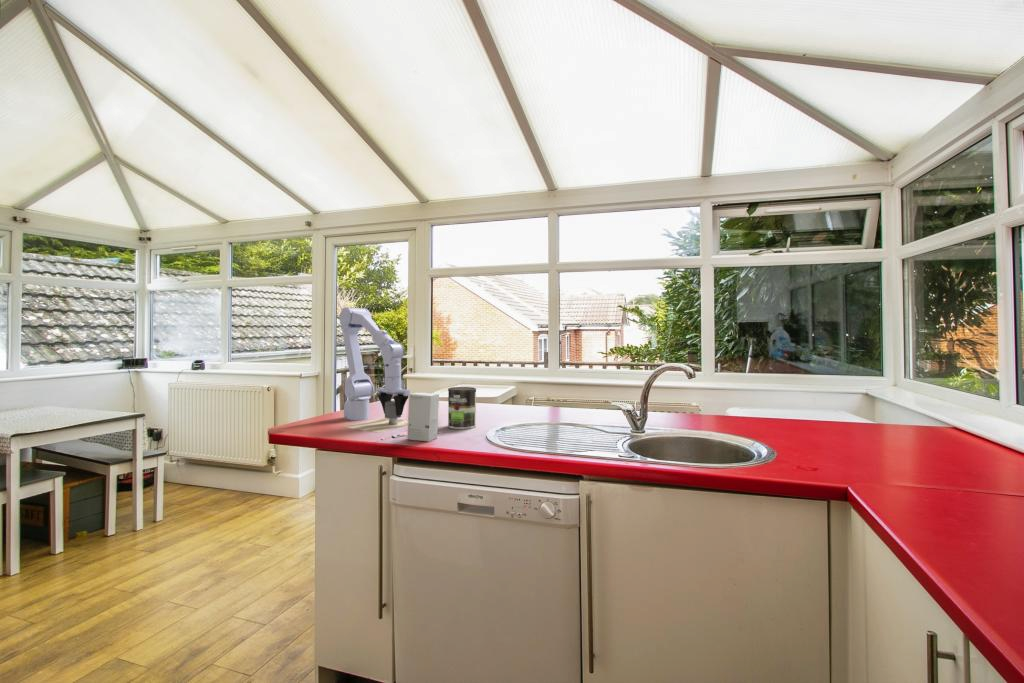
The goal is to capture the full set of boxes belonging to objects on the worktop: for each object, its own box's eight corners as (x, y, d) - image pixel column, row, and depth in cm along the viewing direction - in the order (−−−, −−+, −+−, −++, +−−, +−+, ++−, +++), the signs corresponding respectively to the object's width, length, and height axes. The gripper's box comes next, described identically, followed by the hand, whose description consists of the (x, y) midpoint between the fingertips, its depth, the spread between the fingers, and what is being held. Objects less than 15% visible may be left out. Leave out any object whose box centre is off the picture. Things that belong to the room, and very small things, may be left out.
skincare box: (407, 440, 152) (407, 394, 152) (417, 436, 158) (417, 391, 158) (430, 442, 150) (430, 395, 149) (439, 438, 155) (439, 392, 155)
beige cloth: (341, 430, 166) (341, 426, 166) (386, 421, 184) (386, 417, 184) (376, 436, 157) (376, 432, 157) (420, 426, 174) (420, 422, 174)
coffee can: (469, 430, 168) (469, 390, 168) (443, 428, 171) (443, 389, 171) (480, 424, 178) (480, 387, 178) (454, 423, 181) (455, 386, 181)
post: (386, 428, 170) (386, 410, 170) (393, 427, 173) (393, 409, 173) (392, 429, 169) (392, 411, 169) (399, 427, 171) (399, 410, 171)
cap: (381, 417, 170) (381, 402, 170) (393, 415, 175) (393, 400, 174) (392, 418, 167) (392, 403, 167) (404, 416, 172) (404, 401, 171)
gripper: (370, 376, 171) (370, 414, 171) (399, 378, 163) (399, 418, 163) (385, 375, 177) (385, 411, 177) (413, 377, 169) (413, 415, 169)
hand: (393, 414), depth 171 cm, fingers closed on cap, 6 cm apart
